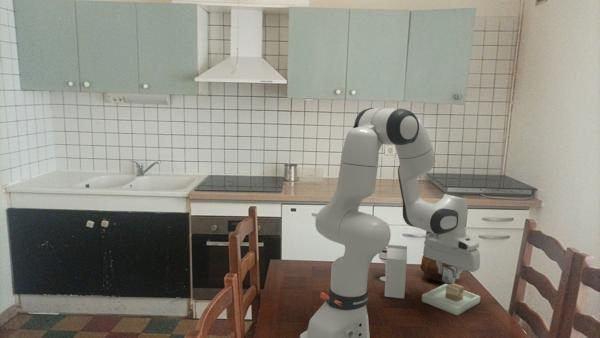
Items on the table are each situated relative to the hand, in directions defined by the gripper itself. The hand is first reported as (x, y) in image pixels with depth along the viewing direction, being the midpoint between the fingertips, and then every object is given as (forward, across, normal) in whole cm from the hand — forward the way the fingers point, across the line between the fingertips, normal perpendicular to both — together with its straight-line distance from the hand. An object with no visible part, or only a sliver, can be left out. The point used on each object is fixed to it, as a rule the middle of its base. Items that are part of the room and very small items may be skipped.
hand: (448, 275), depth 156 cm
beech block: (+10, 0, +5) cm, 11 cm away
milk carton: (+11, -17, -8) cm, 22 cm away
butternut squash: (+11, -14, +17) cm, 25 cm away
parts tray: (+11, 0, +3) cm, 11 cm away
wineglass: (+11, -28, +1) cm, 30 cm away
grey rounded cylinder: (+2, 0, 0) cm, 2 cm away
